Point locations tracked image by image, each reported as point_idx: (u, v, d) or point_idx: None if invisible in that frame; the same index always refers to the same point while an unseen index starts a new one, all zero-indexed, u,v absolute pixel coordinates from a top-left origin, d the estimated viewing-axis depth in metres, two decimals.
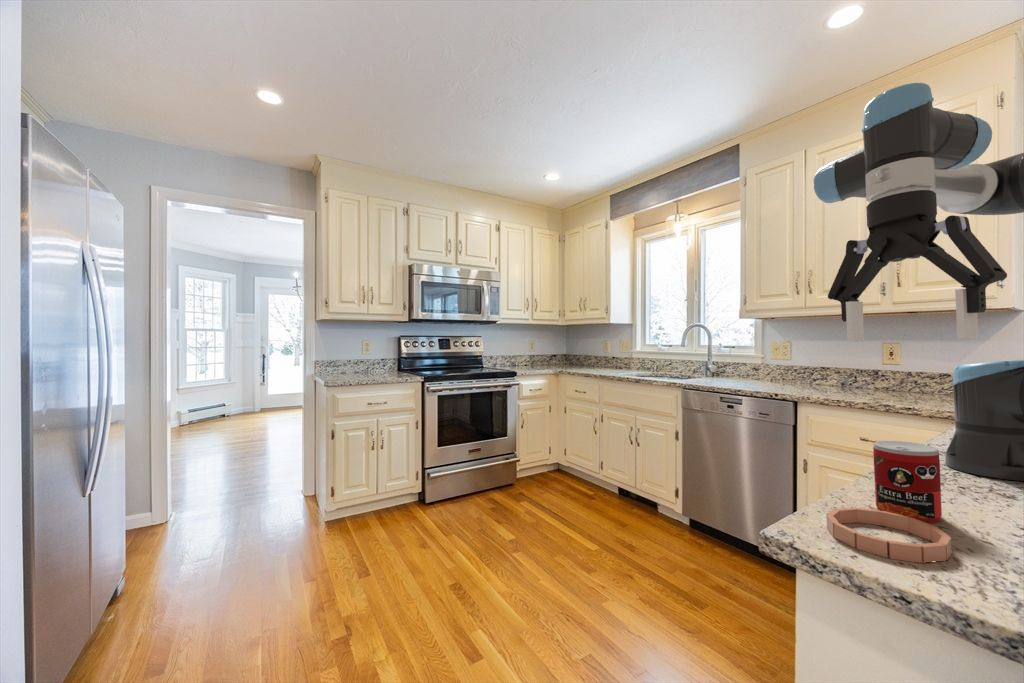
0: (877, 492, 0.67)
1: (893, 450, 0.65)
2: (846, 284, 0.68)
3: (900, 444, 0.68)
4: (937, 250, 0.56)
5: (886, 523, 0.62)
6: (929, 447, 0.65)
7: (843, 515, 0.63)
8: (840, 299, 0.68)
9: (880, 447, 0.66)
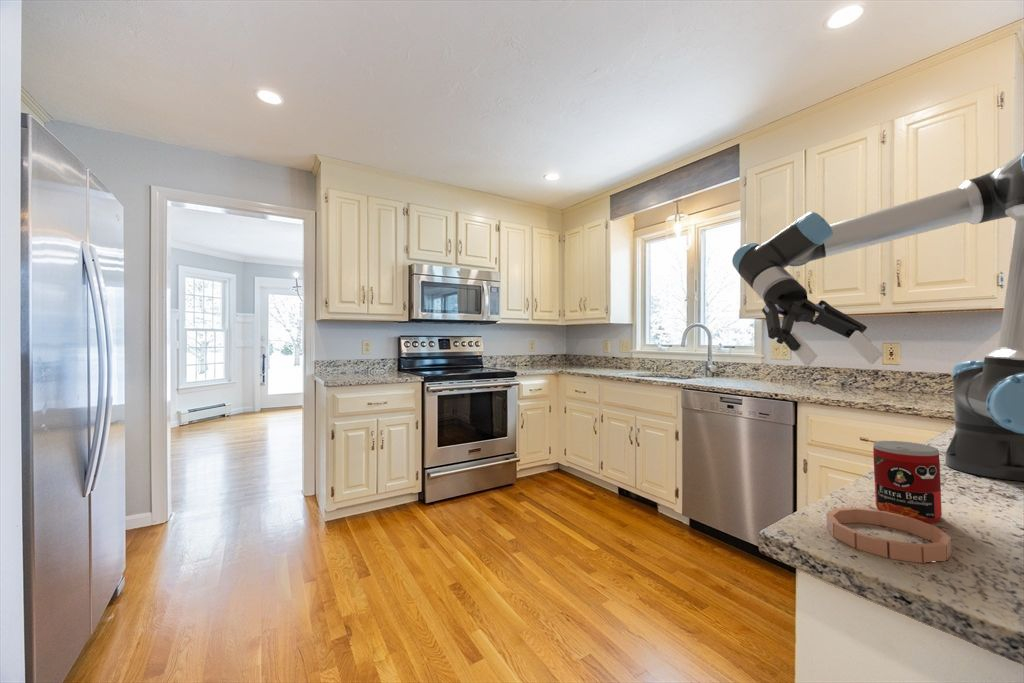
0: (877, 492, 0.67)
1: (893, 450, 0.65)
2: None
3: (900, 444, 0.68)
4: (785, 318, 0.85)
5: (886, 523, 0.62)
6: (929, 447, 0.65)
7: (843, 515, 0.63)
8: None
9: (880, 447, 0.66)
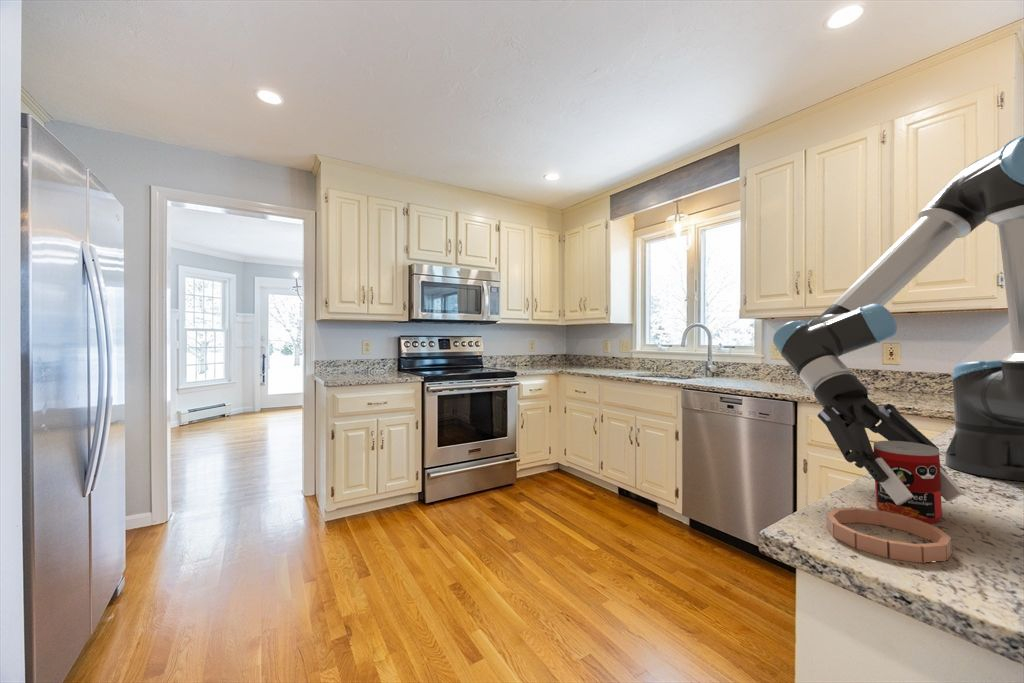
0: (877, 492, 0.67)
1: (893, 450, 0.64)
2: None
3: (900, 444, 0.68)
4: (851, 428, 0.72)
5: (886, 523, 0.62)
6: (929, 447, 0.65)
7: (843, 515, 0.63)
8: None
9: (880, 447, 0.66)
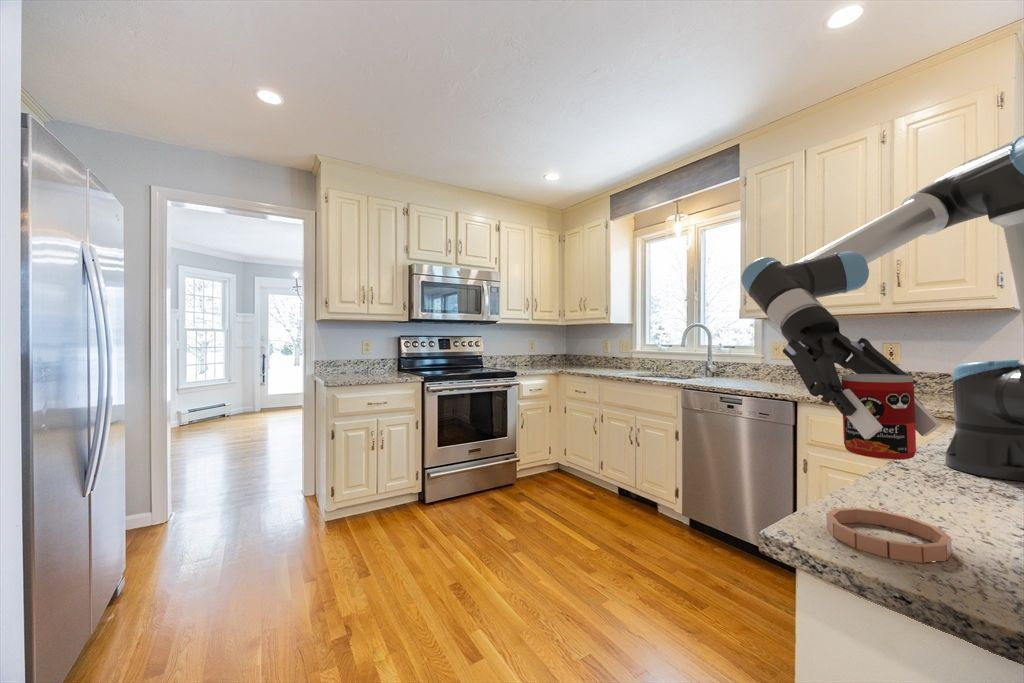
0: (845, 429, 0.60)
1: (862, 378, 0.57)
2: None
3: (872, 376, 0.61)
4: (818, 362, 0.64)
5: (886, 523, 0.62)
6: (903, 376, 0.58)
7: (843, 515, 0.63)
8: None
9: (848, 377, 0.59)
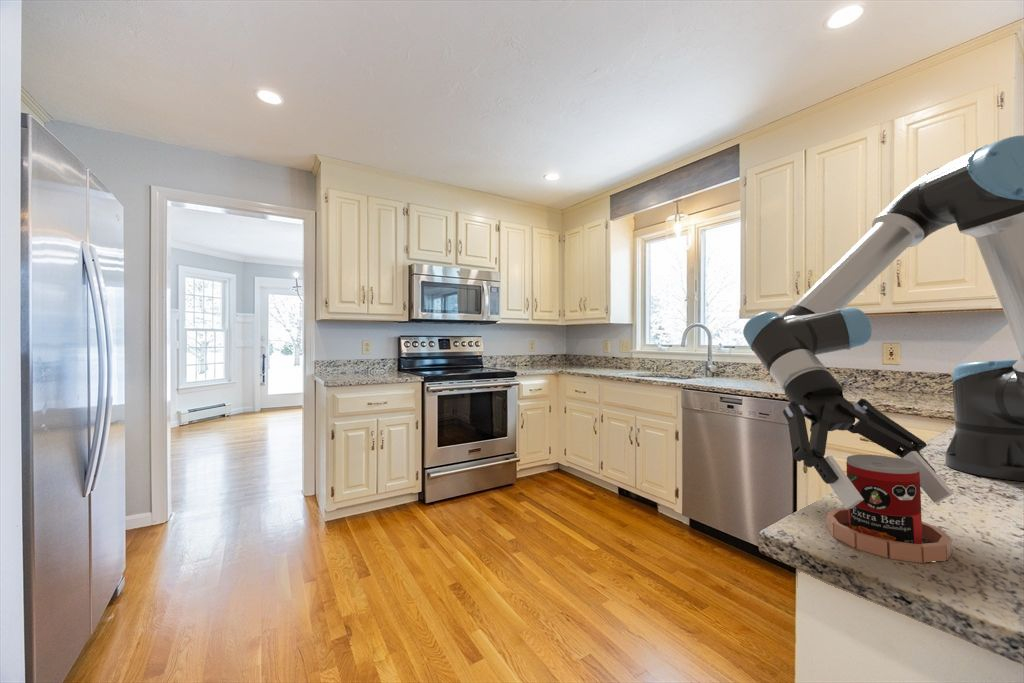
0: (850, 513, 0.59)
1: (867, 466, 0.56)
2: (899, 437, 0.63)
3: (877, 459, 0.60)
4: (815, 427, 0.64)
5: None
6: (909, 463, 0.57)
7: (843, 515, 0.63)
8: None
9: (853, 463, 0.58)
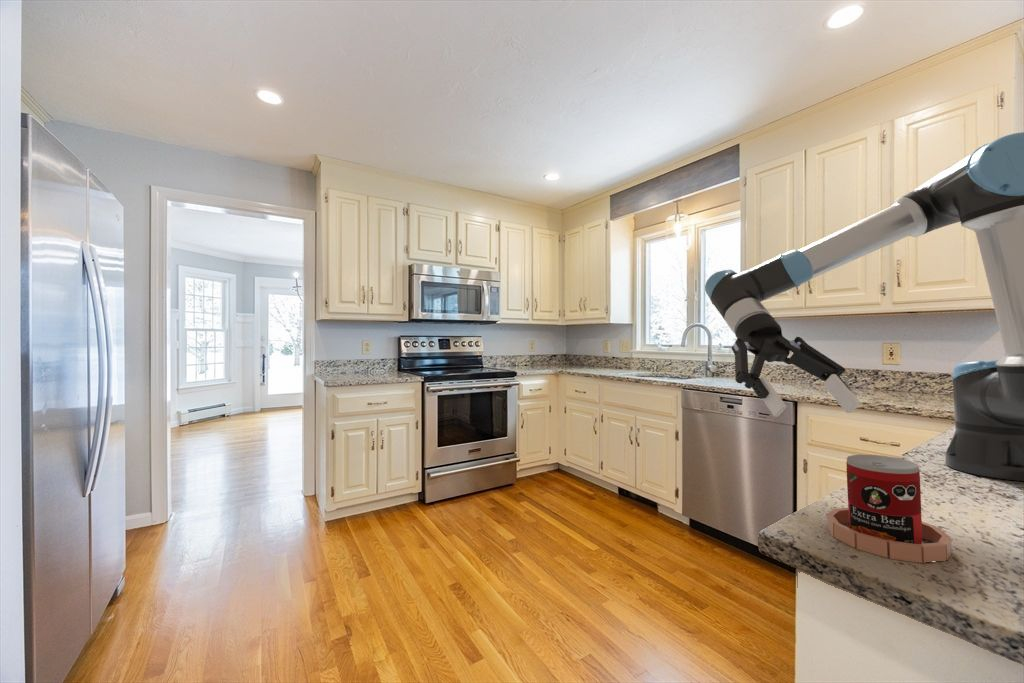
0: (850, 513, 0.59)
1: (867, 466, 0.56)
2: None
3: (877, 459, 0.60)
4: (756, 358, 0.77)
5: None
6: (909, 463, 0.57)
7: (843, 515, 0.63)
8: None
9: (853, 463, 0.58)
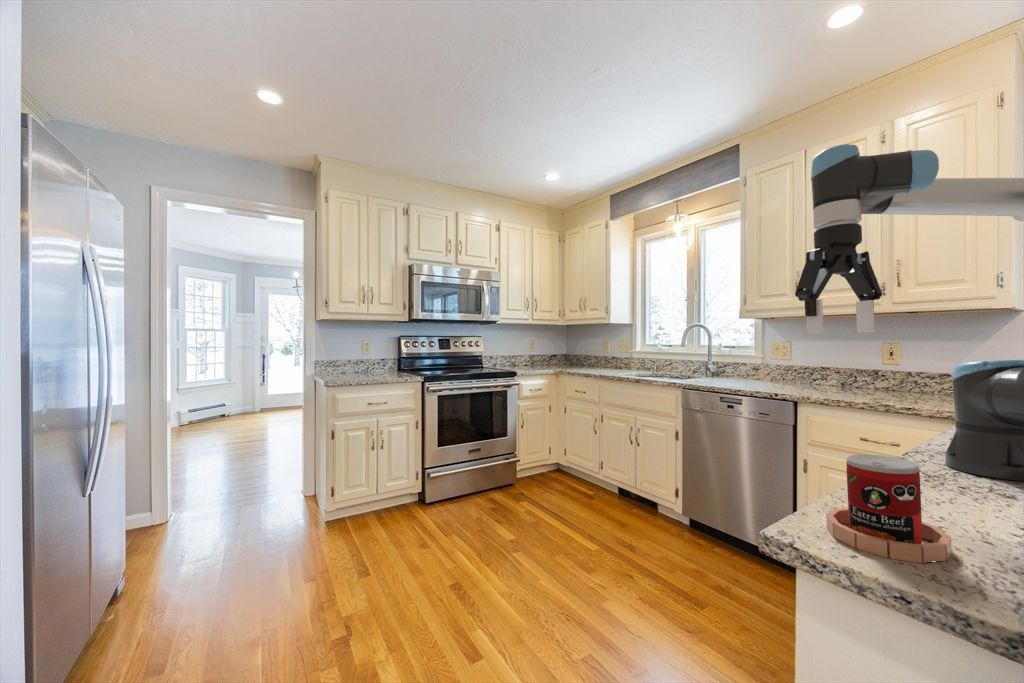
0: (850, 514, 0.59)
1: (867, 466, 0.56)
2: (869, 286, 0.84)
3: (877, 459, 0.60)
4: (822, 271, 0.81)
5: None
6: (909, 463, 0.57)
7: (843, 515, 0.63)
8: None
9: (853, 463, 0.58)
